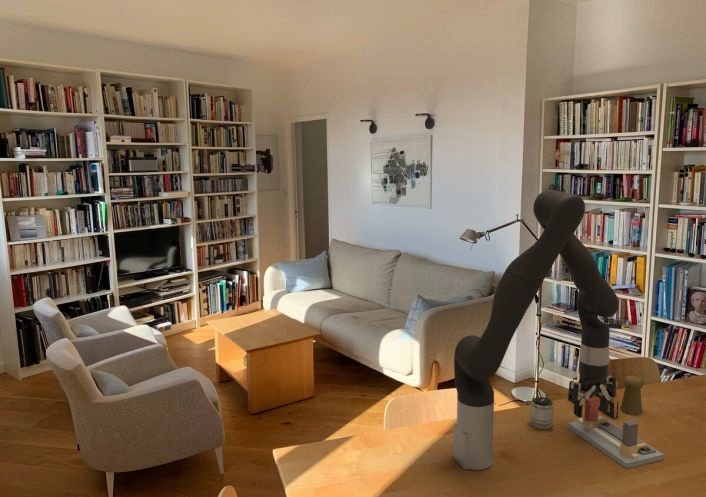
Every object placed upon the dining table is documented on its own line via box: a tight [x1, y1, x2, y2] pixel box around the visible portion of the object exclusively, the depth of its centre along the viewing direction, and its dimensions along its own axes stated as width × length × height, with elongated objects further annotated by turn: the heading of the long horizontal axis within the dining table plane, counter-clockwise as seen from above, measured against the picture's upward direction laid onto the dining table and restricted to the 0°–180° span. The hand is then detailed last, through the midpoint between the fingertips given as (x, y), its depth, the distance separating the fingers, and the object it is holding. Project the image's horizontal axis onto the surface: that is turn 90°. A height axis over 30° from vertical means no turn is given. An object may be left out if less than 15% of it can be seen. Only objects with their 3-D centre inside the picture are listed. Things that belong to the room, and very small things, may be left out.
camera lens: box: [530, 396, 555, 430], centre depth 158 cm, size 6×6×8 cm
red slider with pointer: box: [582, 398, 609, 428], centre depth 153 cm, size 7×3×8 cm, turn 107°
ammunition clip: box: [589, 380, 619, 420], centre depth 165 cm, size 11×2×12 cm, turn 16°
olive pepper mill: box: [619, 375, 644, 416], centre depth 165 cm, size 6×6×11 cm
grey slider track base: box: [567, 415, 665, 470], centre depth 147 cm, size 12×22×10 cm, turn 17°
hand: (590, 413), depth 152 cm, fingers open, 8 cm apart
